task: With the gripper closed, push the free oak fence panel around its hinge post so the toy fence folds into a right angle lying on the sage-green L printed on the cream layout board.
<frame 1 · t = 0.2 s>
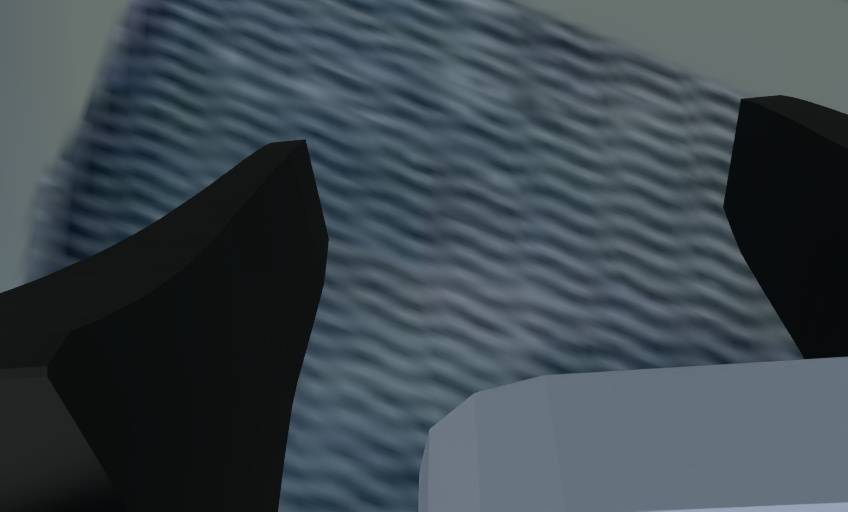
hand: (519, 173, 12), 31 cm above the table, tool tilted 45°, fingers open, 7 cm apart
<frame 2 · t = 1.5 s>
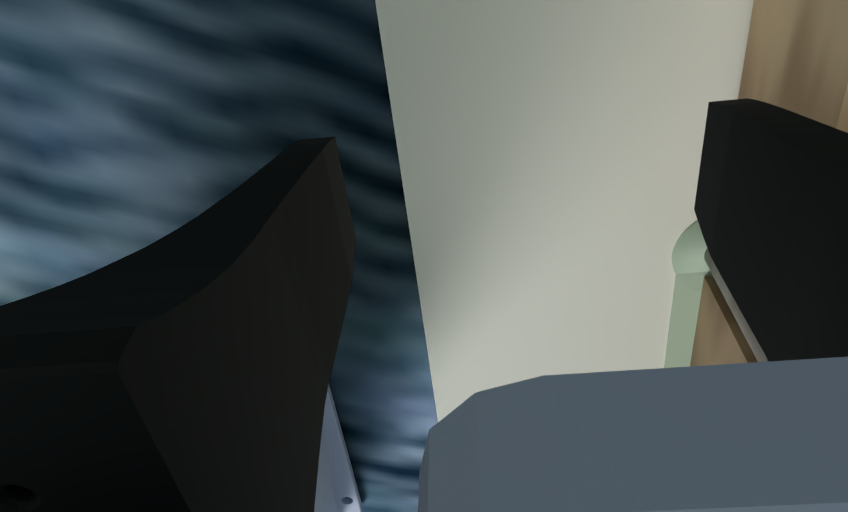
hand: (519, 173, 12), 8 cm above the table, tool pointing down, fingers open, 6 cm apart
layout card: (775, 264, 23), on the table
folding fence panel: (798, 123, 16), point 3 cm above the table, hinge at 0.0°
fixed fence panel: (722, 251, 22), resting on layout card
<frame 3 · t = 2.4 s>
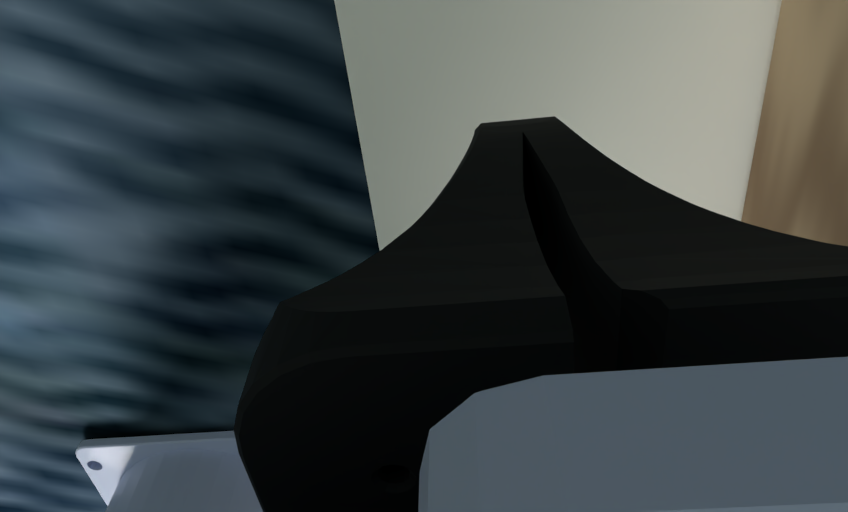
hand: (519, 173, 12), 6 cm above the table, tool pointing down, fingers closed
layout card: (792, 324, 21), on the table
folding fence panel: (826, 187, 14), point 3 cm above the table, hinge at 0.0°
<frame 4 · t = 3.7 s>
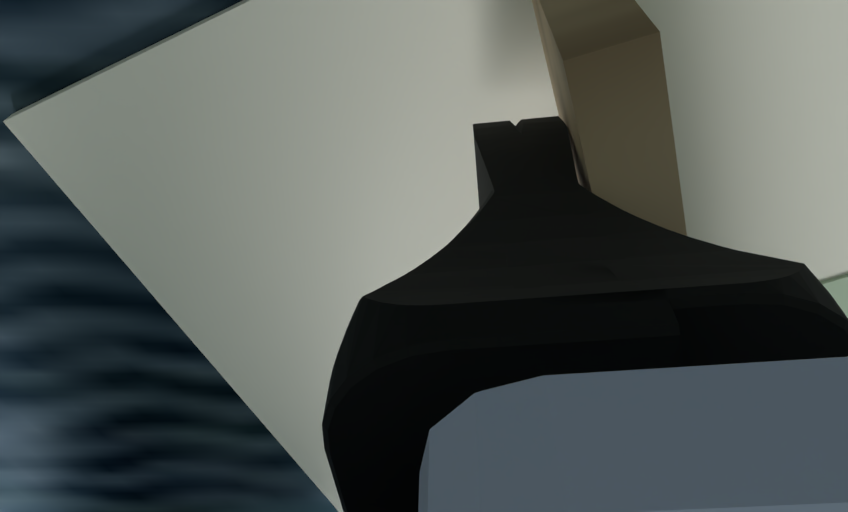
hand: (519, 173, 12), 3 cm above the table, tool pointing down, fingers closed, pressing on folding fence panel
layout card: (721, 368, 18), on the table
folding fence panel: (630, 269, 12), point 3 cm above the table, hinge at -5.8°, touching gripper
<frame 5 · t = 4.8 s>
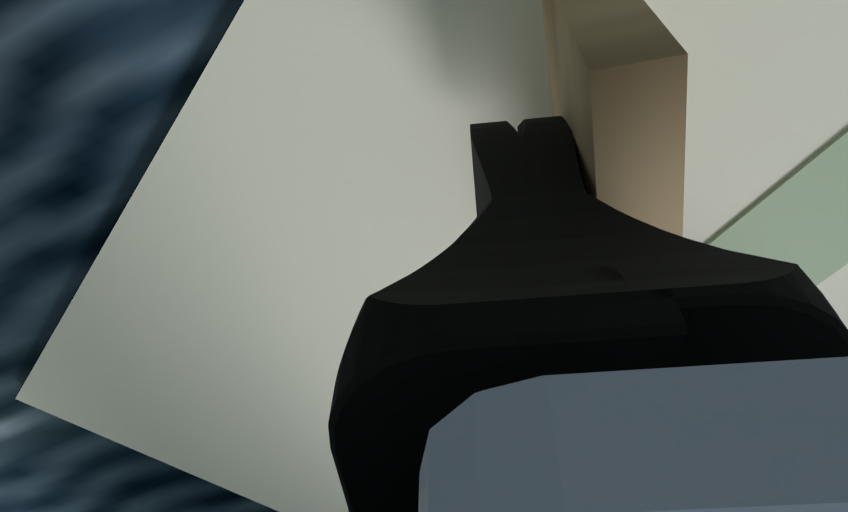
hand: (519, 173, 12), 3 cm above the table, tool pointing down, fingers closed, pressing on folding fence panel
layout card: (677, 351, 17), on the table
folding fence panel: (609, 285, 12), point 3 cm above the table, hinge at -42.3°, touching gripper
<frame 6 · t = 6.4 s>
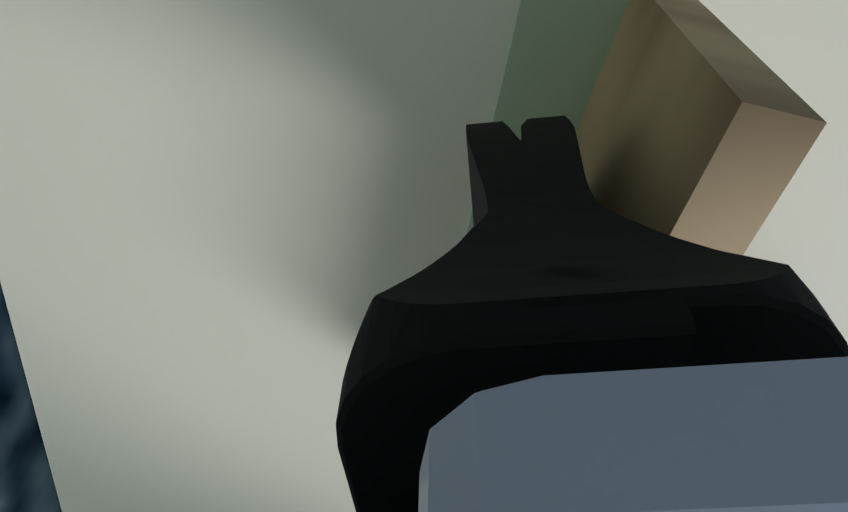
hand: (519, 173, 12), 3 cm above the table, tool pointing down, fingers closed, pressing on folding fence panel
layout card: (536, 338, 17), on the table
folding fence panel: (580, 306, 12), point 3 cm above the table, hinge at -94.5°, touching gripper
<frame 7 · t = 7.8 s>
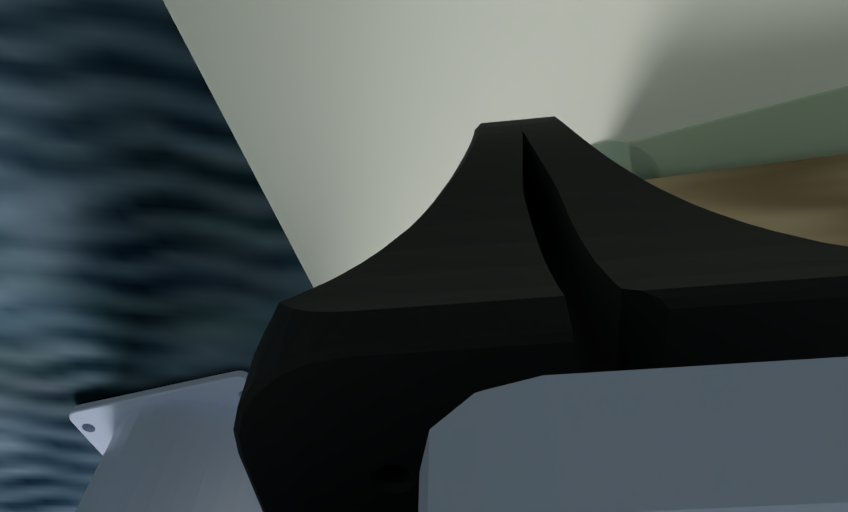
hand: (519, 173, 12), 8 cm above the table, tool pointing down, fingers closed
layout card: (674, 194, 21), on the table
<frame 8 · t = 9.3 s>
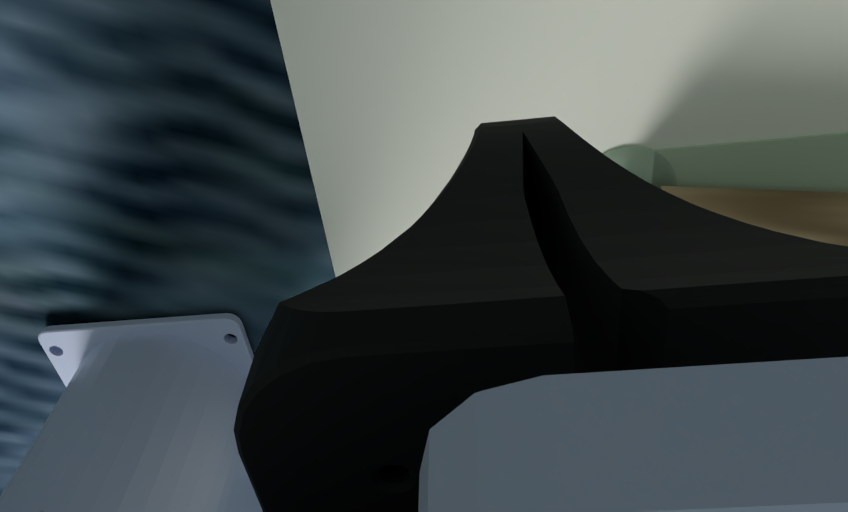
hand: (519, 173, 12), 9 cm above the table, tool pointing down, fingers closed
layout card: (681, 205, 23), on the table
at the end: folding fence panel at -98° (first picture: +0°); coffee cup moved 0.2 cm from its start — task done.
